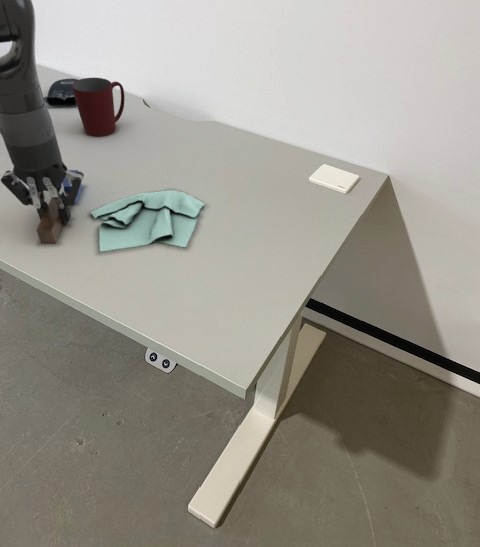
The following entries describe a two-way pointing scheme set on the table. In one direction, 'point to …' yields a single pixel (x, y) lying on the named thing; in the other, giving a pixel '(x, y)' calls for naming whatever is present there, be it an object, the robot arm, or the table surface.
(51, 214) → the brush
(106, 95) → the mug
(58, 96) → the electronic device
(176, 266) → the table surface
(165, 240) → the cloth
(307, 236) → the table surface
